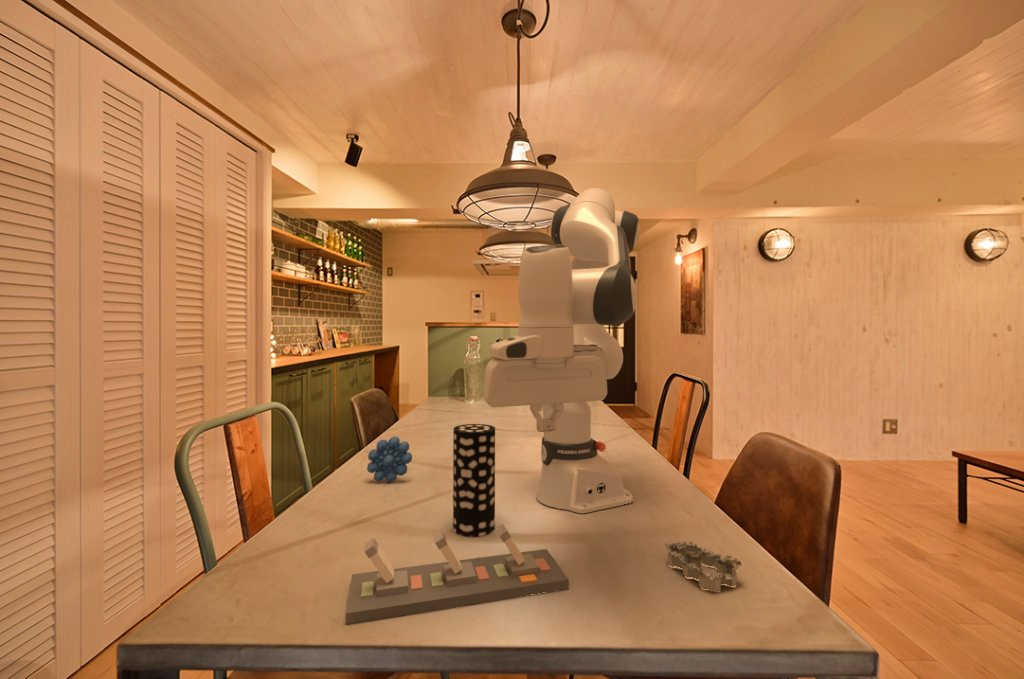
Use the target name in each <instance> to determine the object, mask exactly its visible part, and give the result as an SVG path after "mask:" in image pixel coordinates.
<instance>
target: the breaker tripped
mask: <svg viewBox="0 0 1024 679" xmlns="http://www.w3.org/2000/svg"><path fill="white" fill-rule="evenodd" d="M495 531H496V532H497V534H498V536H499V538H500V539H501V540H502V542H503V543H504V544H505V546H506V548H507V549H508V551H509V552H510V554H512V555H513V557H514V558H515V560H516V561H517V563H518V564H519V565H520V564H521V563H522V562H524V561H525V559H524V558H523V556H522V554H521V553H520V552H521V551H520V549H519V548H518V546H517V545H516V543H515V541H514V540H513V538H512V536H511V534H510V533H509V531H508V529H507V528H506V526H505V525H504V523H502V524H501V525H499V526H498V527H496V528H495Z"/></svg>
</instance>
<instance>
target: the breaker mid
mask: <svg viewBox="0 0 1024 679" xmlns="http://www.w3.org/2000/svg"><path fill="white" fill-rule="evenodd" d="M433 540H434V544H435V545H436V547H437V548H438V550H440V552H441V553H442V555H443V557H444V558H445V560H446V562H448V563H449V565H450V566H451V568H452V569H453V571H454V573H455V574H456V573H457V572H459V571H460V570H461V569H462V567H461V564H460V561H459V560H460V558H458V556H457V554H456V553H455V551H454V549H453V548H452V546H451V545H450V542H448V540H447V538H446V536H445V533H444V532H443V531H442V530H440V531H438V532H437V533H435V534H434V535H433Z"/></svg>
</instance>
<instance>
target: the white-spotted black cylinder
mask: <svg viewBox="0 0 1024 679" xmlns="http://www.w3.org/2000/svg"><path fill="white" fill-rule="evenodd" d="M452 436H453V439H452V440H453V446H452V448H453V449H452V450H453V452H452V454H453V455H452V457H453V458H452V459H453V465H452V466H453V467H452V468H453V470H452V474H453V475H452V476H453V477H452V480H453V482H452V483H453V484H452V486H453V487H452V488H453V489H452V490H453V491H452V497H453V498H452V502H453V504H452V509H453V510H452V514H453V515H452V523H453V524H452V529H453V532H454V533H456V534H457V535H458V536H463V537H469V538H472V537H473V538H475V537H483V536H486V535H489V534H491V533H492V532H493V531H494V530H496V528H495V527H496V519H495V518H496V427H495V425H490V424H485V423H484V424H482V423H469V424H468V423H466V424H461V425H460V424H459V425H456V426H454V427H453V434H452Z"/></svg>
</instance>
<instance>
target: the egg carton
mask: <svg viewBox="0 0 1024 679" xmlns="http://www.w3.org/2000/svg"><path fill="white" fill-rule="evenodd" d="M663 544H664V546H665V547H666V550H667V551H668V554H667V565H668V564H669V565H670V566H672V567H673V566H677V567H680V568H682V569H683V571H682V576H683V575H684V576H686V577H693V578H696V579H699V582H698V587H699V586H700V587H701V588H703V589H709V590H713V591H715V592H718V591H721V592H722V590H721V587H722V586H721V584H727V585H729V586H735V585H737V580H738V578H737V577H738V576H737V574H738V573H737V572H736V571H737V569H739V567H742V562H741V561H740V560H738V559H737V558H735V557H732V556H730V555H728V554H726V555H725V556H724V555H722V554H720V553H714V552H713V551H712V550H710V549H706V548H704V547H700V546H699V547H698V545H697V543H695V542H693V541H690V542H689V543H687V542H686V541H685V540H684V541H682V542H677V543H675V542H672V543H666V542H665V543H663ZM685 558H686V561H685ZM701 562H702V563H703V564H705V565H708V566H714V567H716V568H717V570H716V573H717V572H718V573H719V575H716V574H712V573H705V572H702V569H700V568H701V567H702V565H701ZM718 593H719V592H718Z"/></svg>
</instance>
